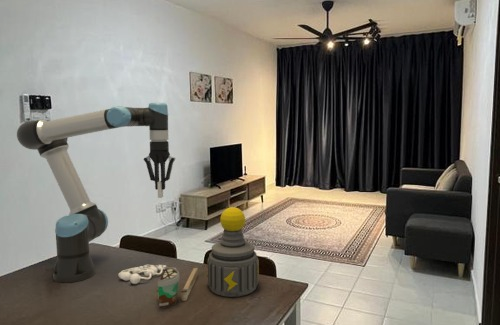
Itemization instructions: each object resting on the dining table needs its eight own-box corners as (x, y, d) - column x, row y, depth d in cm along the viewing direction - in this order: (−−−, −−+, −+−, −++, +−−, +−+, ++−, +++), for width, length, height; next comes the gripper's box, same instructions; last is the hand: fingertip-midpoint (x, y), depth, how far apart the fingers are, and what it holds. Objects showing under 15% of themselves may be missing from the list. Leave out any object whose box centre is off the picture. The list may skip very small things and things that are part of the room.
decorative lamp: (203, 298, 134) (202, 213, 131) (211, 276, 153) (210, 201, 150) (258, 298, 134) (258, 213, 130) (258, 277, 152) (258, 202, 149)
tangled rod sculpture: (151, 267, 167) (151, 257, 166) (175, 271, 158) (174, 261, 158) (112, 280, 151) (112, 270, 151) (136, 286, 142) (135, 275, 142)
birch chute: (156, 300, 132) (156, 290, 132) (172, 274, 154) (172, 266, 154) (186, 300, 132) (186, 290, 132) (198, 275, 154) (197, 266, 153)
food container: (177, 310, 126) (176, 280, 125) (158, 310, 125) (157, 280, 124) (182, 293, 138) (182, 266, 137) (165, 293, 138) (164, 266, 137)
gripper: (176, 140, 162) (178, 195, 165) (146, 140, 163) (147, 195, 165) (172, 141, 155) (173, 199, 157) (140, 141, 155) (142, 198, 158)
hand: (160, 197), depth 161 cm, fingers closed
